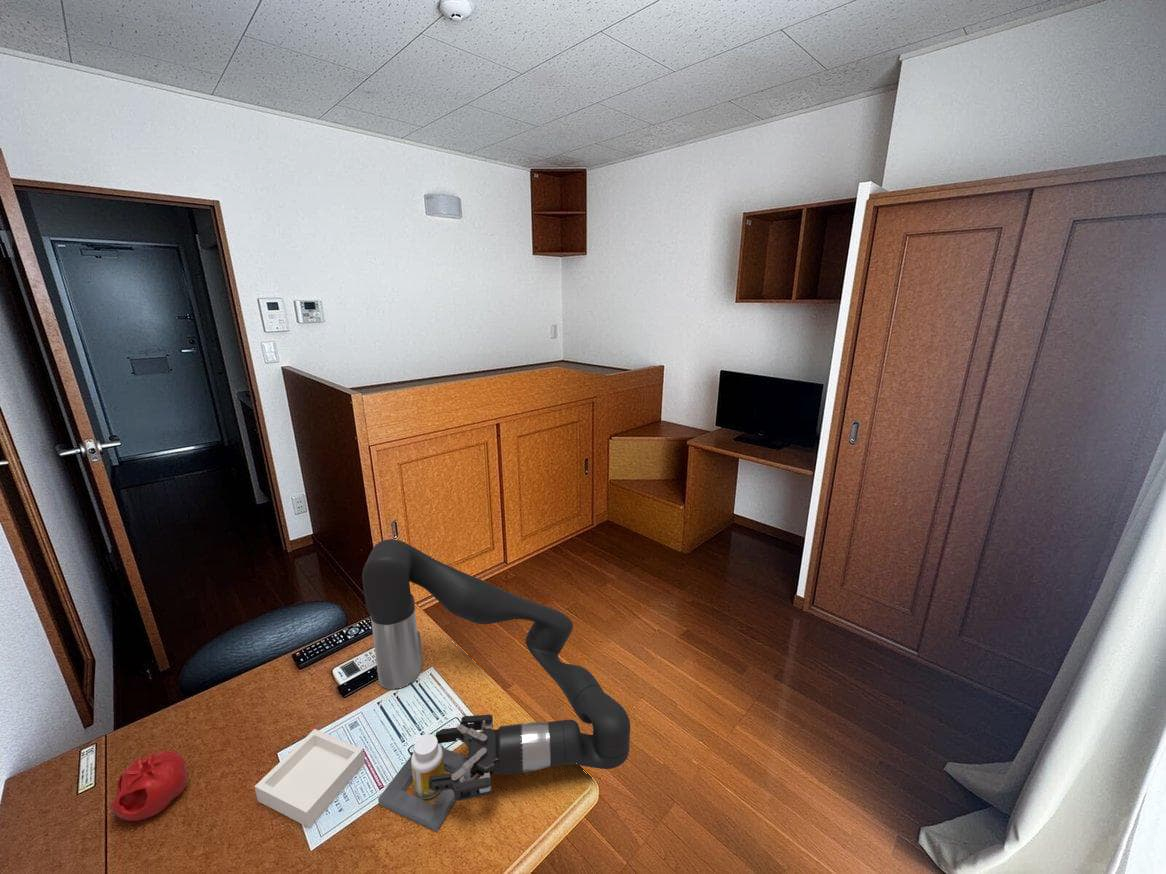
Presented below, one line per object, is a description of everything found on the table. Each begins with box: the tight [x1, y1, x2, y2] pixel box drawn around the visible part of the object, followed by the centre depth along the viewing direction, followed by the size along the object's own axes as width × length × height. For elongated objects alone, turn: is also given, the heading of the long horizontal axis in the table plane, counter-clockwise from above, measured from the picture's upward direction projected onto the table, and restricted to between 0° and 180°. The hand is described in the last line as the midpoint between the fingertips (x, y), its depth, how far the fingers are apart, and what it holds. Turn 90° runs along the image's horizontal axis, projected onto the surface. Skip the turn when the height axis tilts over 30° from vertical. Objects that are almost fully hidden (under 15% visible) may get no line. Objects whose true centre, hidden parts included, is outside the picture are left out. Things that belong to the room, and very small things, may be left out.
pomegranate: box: [109, 747, 188, 822], centre depth 80 cm, size 10×10×9 cm
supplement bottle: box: [411, 733, 445, 800], centre depth 83 cm, size 5×5×10 cm
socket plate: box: [377, 746, 471, 832], centre depth 84 cm, size 12×12×2 cm
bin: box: [254, 728, 366, 829], centre depth 84 cm, size 12×12×4 cm
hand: (432, 759), depth 83 cm, fingers open, 8 cm apart
